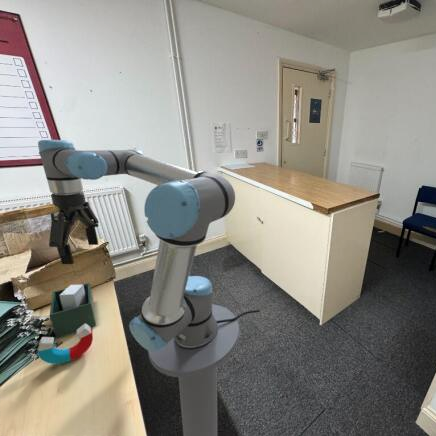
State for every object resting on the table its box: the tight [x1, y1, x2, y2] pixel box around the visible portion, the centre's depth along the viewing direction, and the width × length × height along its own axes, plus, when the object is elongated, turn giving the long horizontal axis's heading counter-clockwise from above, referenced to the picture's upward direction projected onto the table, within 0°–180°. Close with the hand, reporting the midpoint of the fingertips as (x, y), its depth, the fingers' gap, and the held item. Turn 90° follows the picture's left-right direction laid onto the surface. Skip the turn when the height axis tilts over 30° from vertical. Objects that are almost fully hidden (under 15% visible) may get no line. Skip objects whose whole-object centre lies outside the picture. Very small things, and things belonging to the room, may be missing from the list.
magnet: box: [37, 323, 94, 365], centre depth 71 cm, size 12×3×10 cm, turn 129°
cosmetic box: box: [59, 284, 87, 310], centre depth 84 cm, size 6×4×12 cm
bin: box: [48, 282, 97, 339], centre depth 84 cm, size 14×10×10 cm
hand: (81, 253), depth 79 cm, fingers open, 13 cm apart
